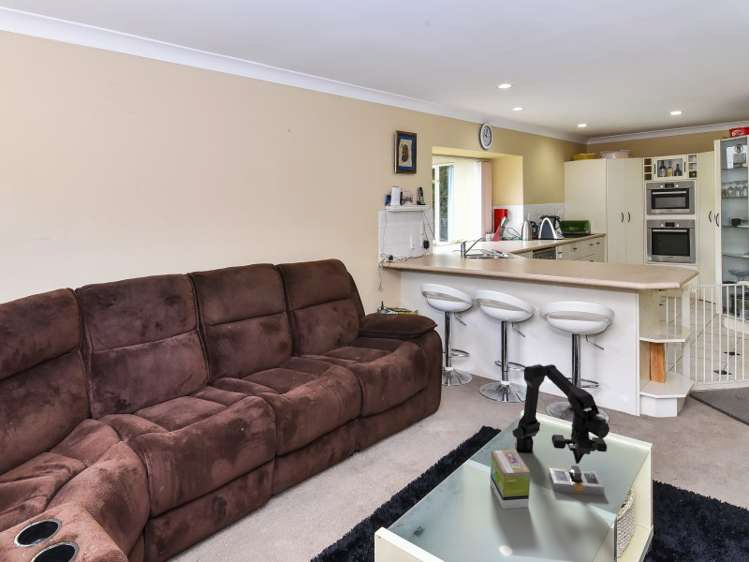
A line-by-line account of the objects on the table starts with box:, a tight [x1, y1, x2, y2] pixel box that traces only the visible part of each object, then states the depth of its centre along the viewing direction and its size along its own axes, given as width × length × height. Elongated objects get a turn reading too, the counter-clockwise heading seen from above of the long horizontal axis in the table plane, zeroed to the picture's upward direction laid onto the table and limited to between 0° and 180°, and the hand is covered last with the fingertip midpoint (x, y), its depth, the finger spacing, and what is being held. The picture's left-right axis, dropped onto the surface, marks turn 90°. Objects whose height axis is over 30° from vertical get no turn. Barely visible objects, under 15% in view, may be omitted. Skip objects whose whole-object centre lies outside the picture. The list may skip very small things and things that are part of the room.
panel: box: [570, 465, 582, 483], centre depth 192 cm, size 2×5×6 cm, turn 172°
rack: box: [547, 467, 605, 496], centre depth 192 cm, size 18×10×4 cm, turn 82°
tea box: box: [489, 448, 531, 510], centre depth 185 cm, size 15×10×15 cm, turn 5°
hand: (577, 463), depth 191 cm, fingers closed
